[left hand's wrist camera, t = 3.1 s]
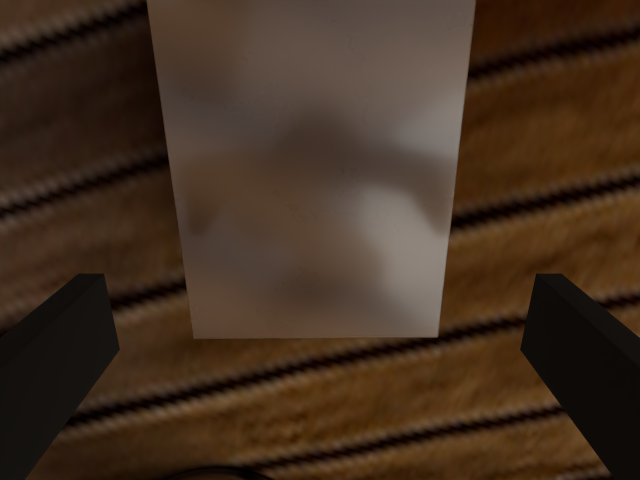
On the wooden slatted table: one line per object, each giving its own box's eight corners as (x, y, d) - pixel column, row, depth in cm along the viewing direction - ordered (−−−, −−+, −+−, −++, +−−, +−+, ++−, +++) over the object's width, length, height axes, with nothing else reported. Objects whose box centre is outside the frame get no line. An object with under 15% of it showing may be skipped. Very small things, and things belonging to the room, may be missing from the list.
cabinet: (198, -93, 21) (117, -207, 12) (427, -95, 21) (500, -211, 12) (231, 260, 28) (193, 339, 19) (402, 259, 28) (438, 337, 19)
